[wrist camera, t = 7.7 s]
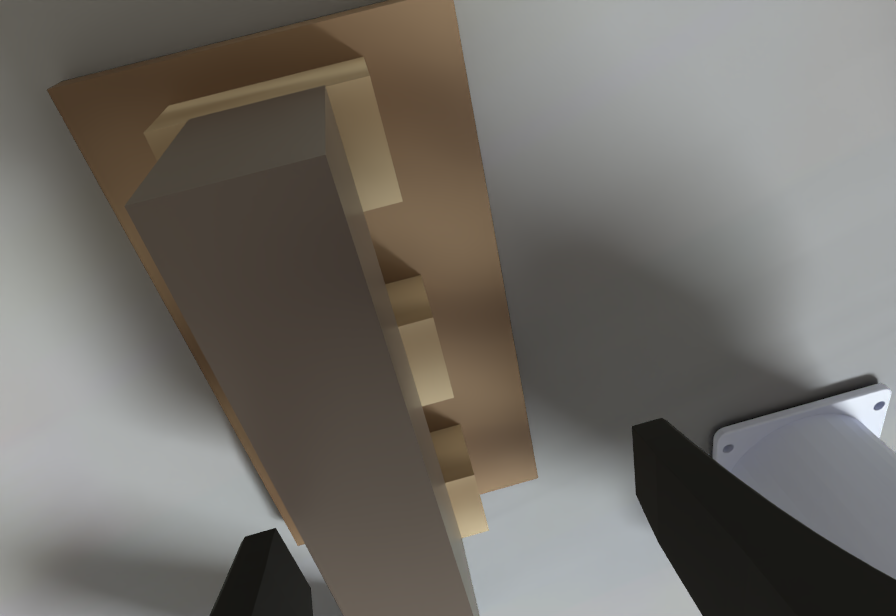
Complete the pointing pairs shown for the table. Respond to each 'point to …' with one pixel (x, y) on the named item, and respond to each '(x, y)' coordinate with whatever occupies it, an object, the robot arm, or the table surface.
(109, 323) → the table surface
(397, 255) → the display stand
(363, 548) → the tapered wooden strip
